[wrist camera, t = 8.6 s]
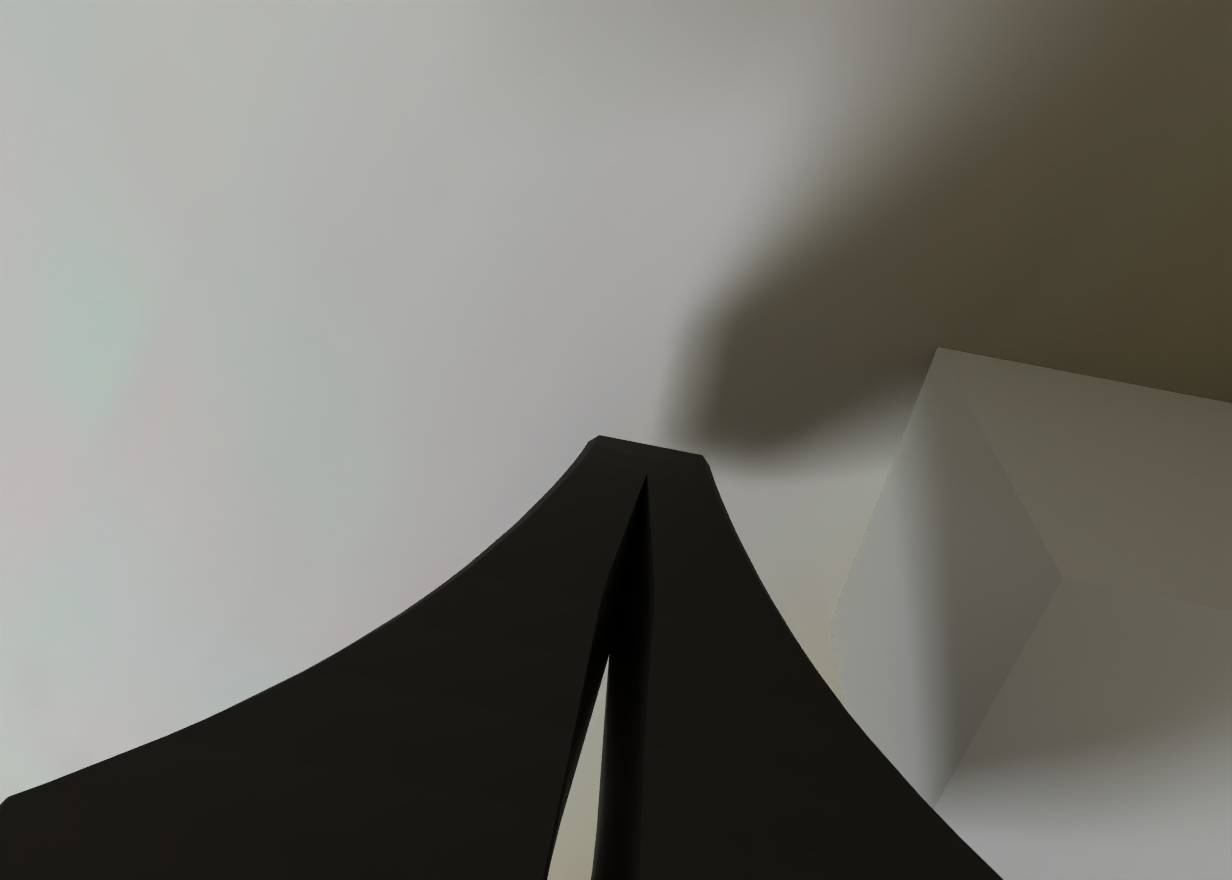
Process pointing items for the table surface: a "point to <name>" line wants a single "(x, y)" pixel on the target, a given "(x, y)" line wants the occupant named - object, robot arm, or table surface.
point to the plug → (1053, 621)
